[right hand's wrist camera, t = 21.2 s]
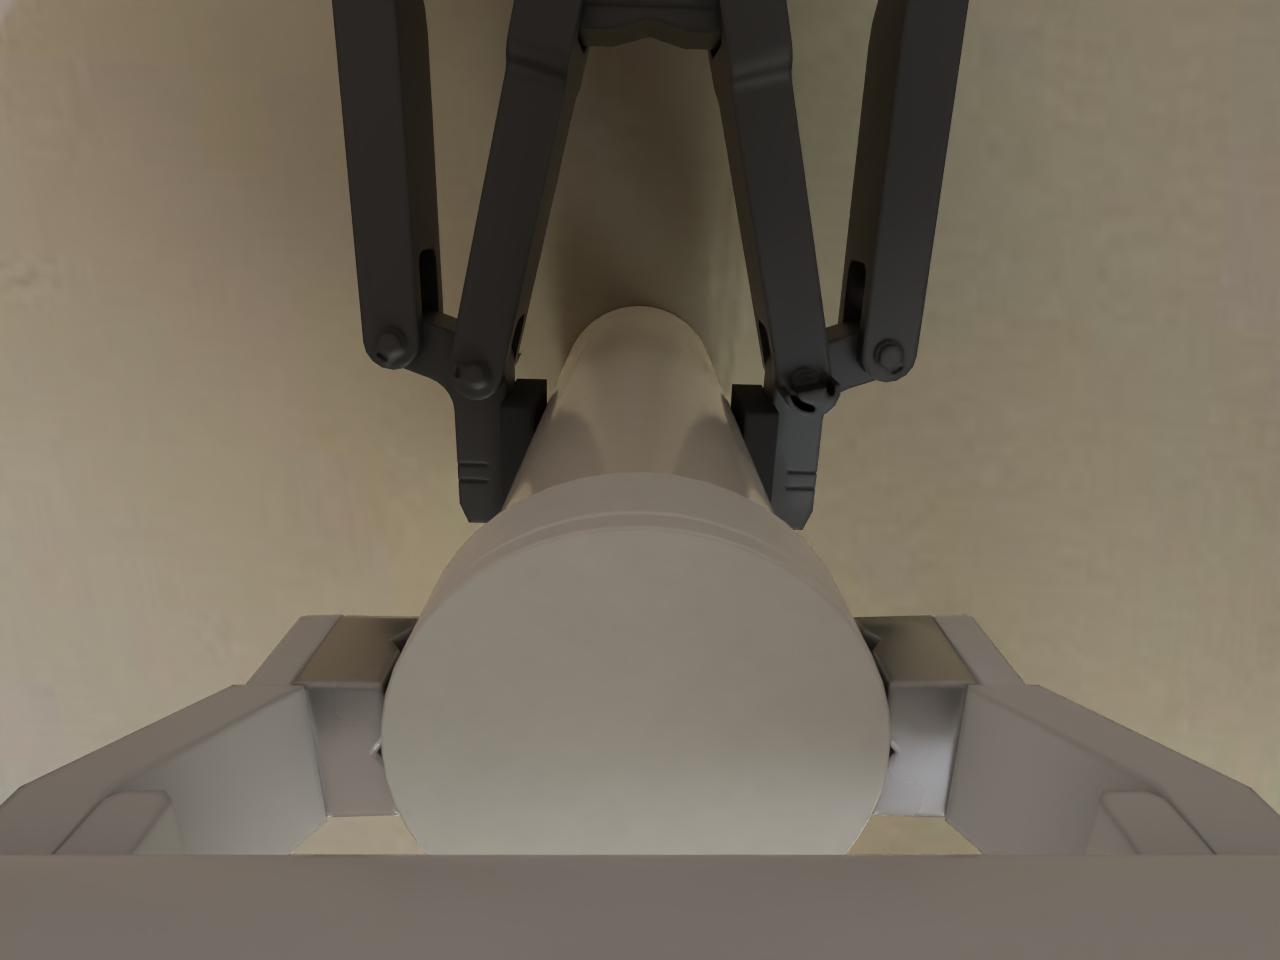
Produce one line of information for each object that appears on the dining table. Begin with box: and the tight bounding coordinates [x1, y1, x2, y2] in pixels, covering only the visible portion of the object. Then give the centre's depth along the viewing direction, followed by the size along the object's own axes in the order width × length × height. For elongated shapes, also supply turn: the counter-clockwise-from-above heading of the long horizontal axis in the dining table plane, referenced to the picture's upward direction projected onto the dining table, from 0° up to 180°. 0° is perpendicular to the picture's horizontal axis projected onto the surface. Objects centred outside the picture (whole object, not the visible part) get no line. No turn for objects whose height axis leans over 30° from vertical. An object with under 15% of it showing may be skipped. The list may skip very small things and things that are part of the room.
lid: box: [381, 472, 891, 855], centre depth 9 cm, size 6×6×2 cm
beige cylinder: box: [501, 306, 775, 515], centre depth 17 cm, size 5×5×17 cm
